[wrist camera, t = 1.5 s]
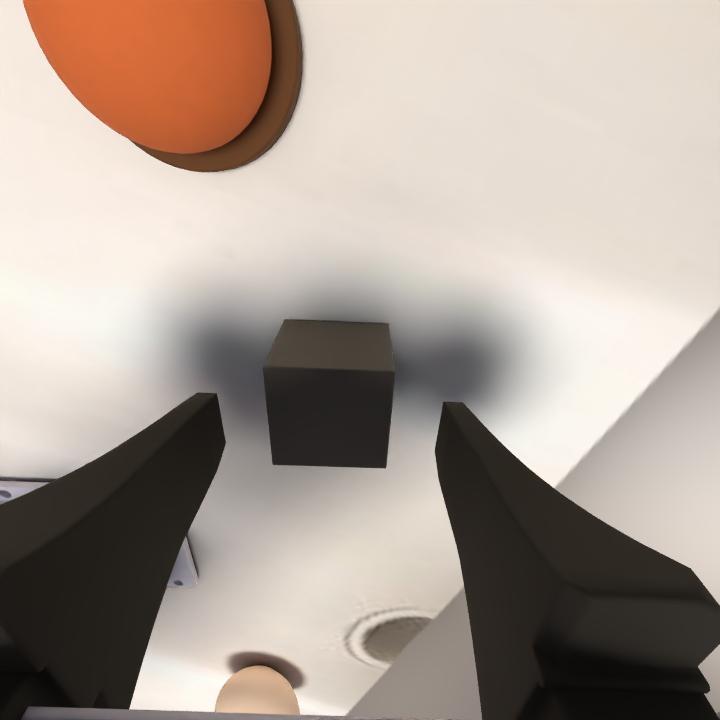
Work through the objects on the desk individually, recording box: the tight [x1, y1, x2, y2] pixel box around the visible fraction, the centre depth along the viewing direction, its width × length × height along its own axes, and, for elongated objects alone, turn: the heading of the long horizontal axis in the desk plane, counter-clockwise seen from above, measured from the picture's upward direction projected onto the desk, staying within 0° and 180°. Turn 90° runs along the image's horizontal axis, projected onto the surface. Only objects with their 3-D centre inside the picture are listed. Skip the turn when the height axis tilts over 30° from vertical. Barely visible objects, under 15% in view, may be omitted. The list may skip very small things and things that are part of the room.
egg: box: [215, 665, 300, 715], centre depth 26 cm, size 5×5×7 cm
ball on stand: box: [23, 0, 302, 172], centre depth 9 cm, size 6×6×5 cm
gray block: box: [263, 320, 395, 468], centre depth 14 cm, size 4×4×4 cm
